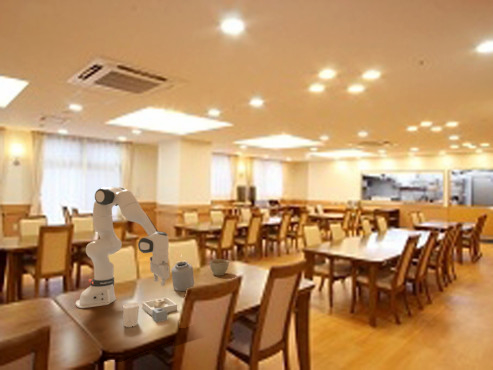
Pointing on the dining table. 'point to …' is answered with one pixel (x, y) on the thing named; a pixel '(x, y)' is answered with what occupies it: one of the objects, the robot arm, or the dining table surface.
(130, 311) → the white cup
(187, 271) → the jar
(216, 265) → the planter bowl
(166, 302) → the cream tray
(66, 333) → the dining table surface
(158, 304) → the maple block
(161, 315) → the slate block
